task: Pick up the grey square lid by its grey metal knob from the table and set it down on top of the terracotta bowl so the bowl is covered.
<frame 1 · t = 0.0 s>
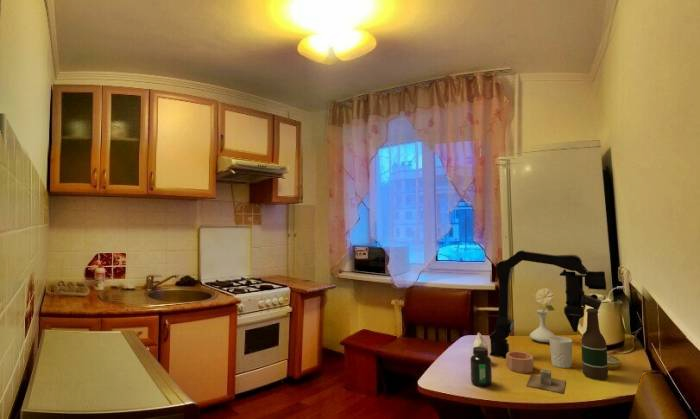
hand: (576, 328, 144), 15 cm above the table, tool pointing down, fingers open, 9 cm apart
white cup: (561, 365, 146), on the table
beer bottle: (595, 376, 135), on the table
terracotta bowl: (520, 368, 144), on the table
flower in vase: (544, 341, 175), on the table
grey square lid: (546, 385, 130), on the table
decorated donut: (604, 366, 145), on the table
supplement bottle: (481, 384, 131), on the table
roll: (481, 363, 150), on the table
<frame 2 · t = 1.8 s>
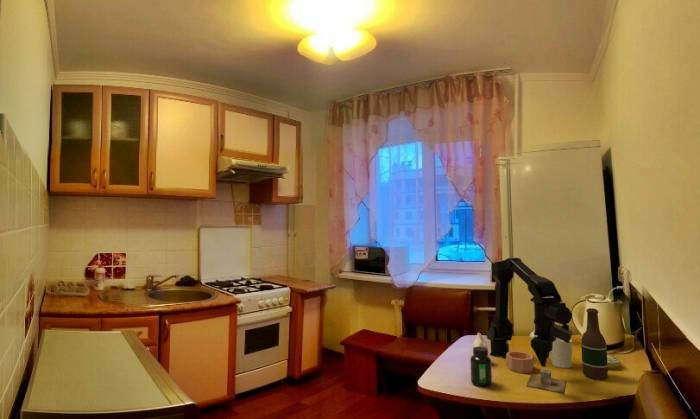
hand: (545, 362, 130), 7 cm above the table, tool pointing down, fingers open, 9 cm apart
nothing on the table moved.
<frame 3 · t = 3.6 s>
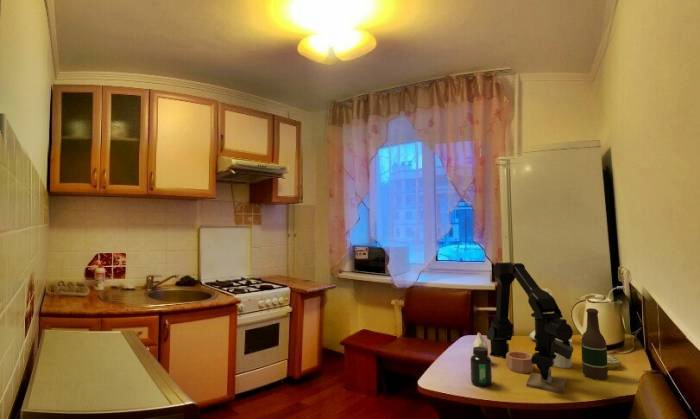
hand: (546, 378, 130), 2 cm above the table, tool pointing down, fingers closed on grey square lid, 3 cm apart
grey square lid: (546, 384, 130), on the table, touching gripper
everything else where it was.
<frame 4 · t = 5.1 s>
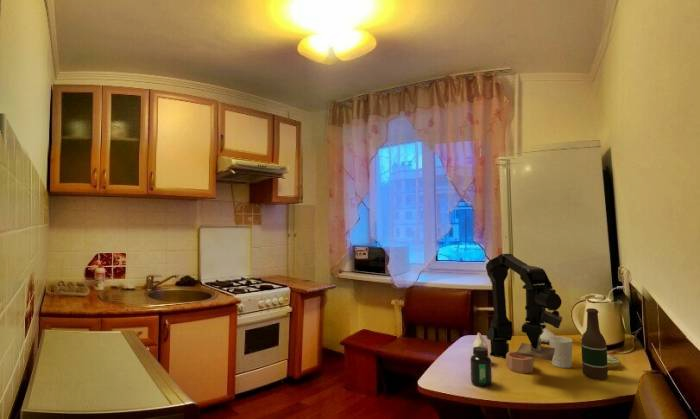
hand: (535, 347, 135), 11 cm above the table, tool pointing down, fingers closed on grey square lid, 3 cm apart
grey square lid: (536, 352, 135), point 9 cm above the table, touching gripper
everything else where it was.
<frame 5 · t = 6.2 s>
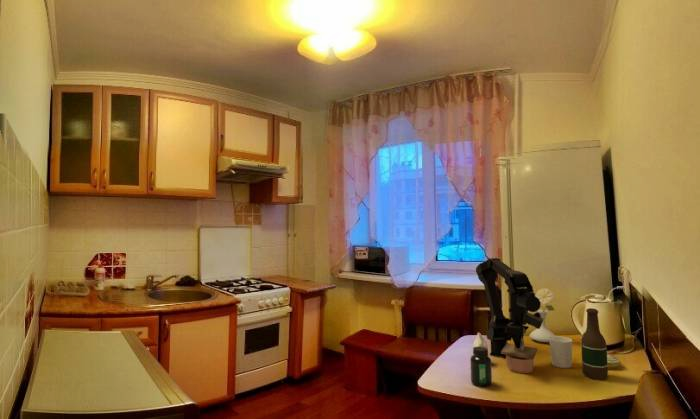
hand: (519, 346, 144), 8 cm above the table, tool pointing down, fingers closed on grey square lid, 3 cm apart
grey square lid: (519, 352, 144), point 6 cm above the table, touching gripper
everything else where it was.
when the fingers open (8 cm above the table, at t = 6.8 s): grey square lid stays where it is, resting on terracotta bowl.
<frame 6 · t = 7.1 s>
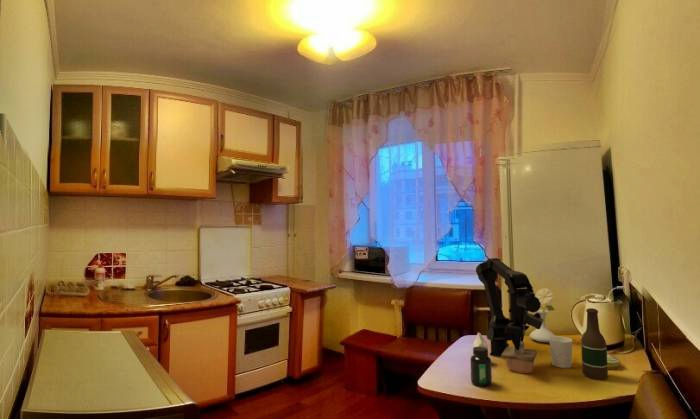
hand: (519, 347, 144), 8 cm above the table, tool pointing down, fingers open, 6 cm apart
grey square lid: (519, 355, 144), point 5 cm above the table, touching terracotta bowl
everything else where it was.
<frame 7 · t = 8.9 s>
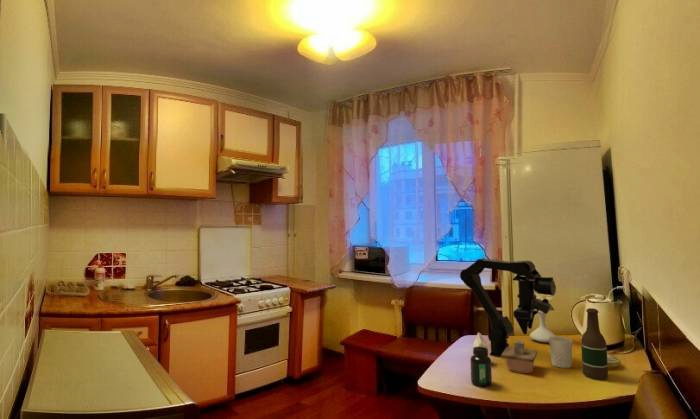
hand: (527, 331, 151), 12 cm above the table, tool pointing down, fingers open, 9 cm apart
nothing on the table moved.
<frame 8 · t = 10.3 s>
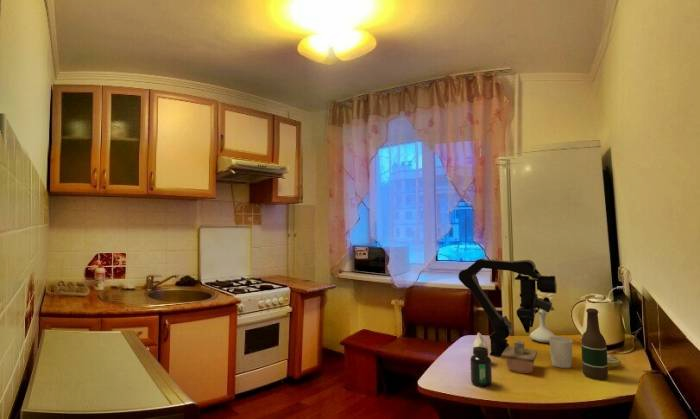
hand: (529, 329, 153), 12 cm above the table, tool pointing down, fingers open, 9 cm apart
nothing on the table moved.
at the end: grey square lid 0.0 cm off-centre on the terracotta bowl, point 5.0 cm above the terracotta bowl's base; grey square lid tilted 0°; the gripper is holding nothing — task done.
